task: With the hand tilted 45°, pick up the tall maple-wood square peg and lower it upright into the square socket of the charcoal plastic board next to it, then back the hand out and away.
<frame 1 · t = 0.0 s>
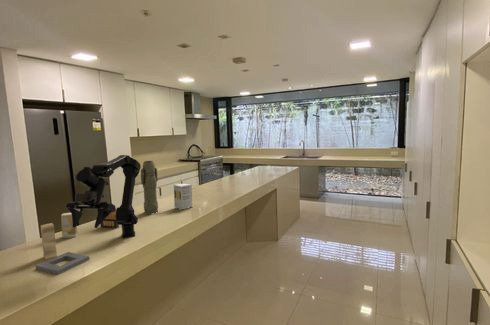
hand: (84, 227, 108), 15 cm above the counter, tool tilted 35°, fingers open, 9 cm apart
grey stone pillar: (151, 212, 184), on the counter
socket board: (63, 264, 109), on the counter
supplement box: (183, 208, 194), on the counter
ammunition clip: (109, 227, 154), on the counter
skincare box: (70, 236, 141), on the counter
maple peg: (50, 256, 117), on the counter
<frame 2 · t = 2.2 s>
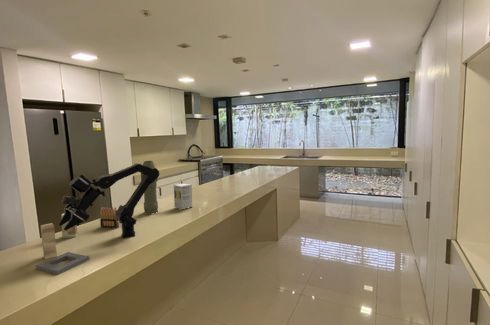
hand: (62, 227, 119), 12 cm above the counter, tool tilted 45°, fingers open, 9 cm apart
nothing on the counter moved.
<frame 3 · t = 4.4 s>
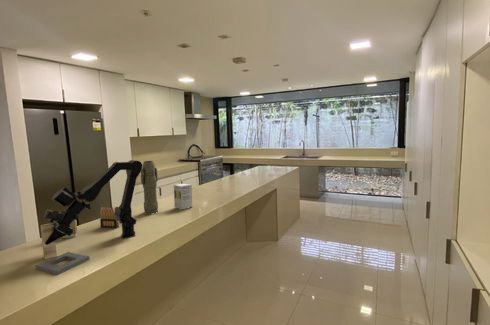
hand: (44, 242, 115), 7 cm above the counter, tool tilted 45°, fingers closed on maple peg, 4 cm apart
maple peg: (50, 256, 117), on the counter, touching gripper
everything else where it was.
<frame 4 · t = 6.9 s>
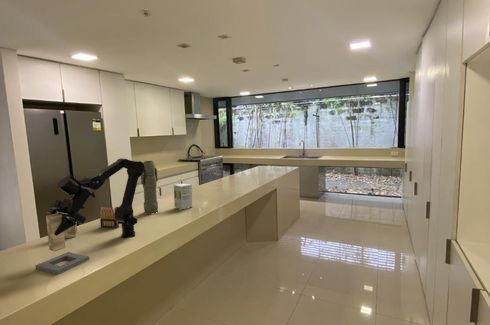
hand: (52, 234, 109), 12 cm above the counter, tool tilted 45°, fingers closed on maple peg, 4 cm apart
maple peg: (57, 248, 110), point 6 cm above the counter, touching gripper
everything else where it was.
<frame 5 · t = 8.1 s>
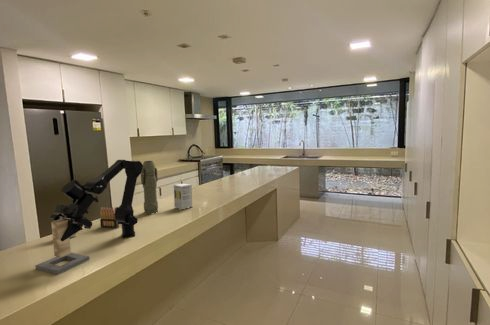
hand: (57, 240, 107), 11 cm above the counter, tool tilted 45°, fingers closed on maple peg, 4 cm apart
maple peg: (62, 254, 109), point 4 cm above the counter, touching gripper
everything else where it was.
when the fingers open (7 cm above the counter, at t = 9.3 s): maple peg stays where it is, resting in socket board.
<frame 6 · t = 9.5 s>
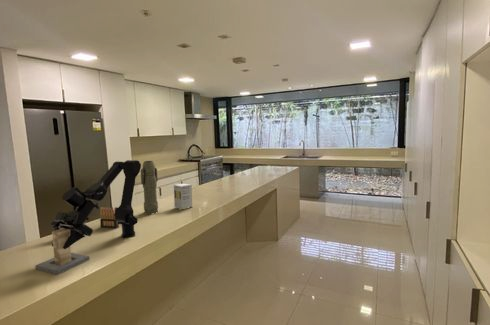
hand: (58, 247, 107), 8 cm above the counter, tool tilted 45°, fingers open, 6 cm apart
maple peg: (63, 264, 109), resting in socket board
everything else where it was.
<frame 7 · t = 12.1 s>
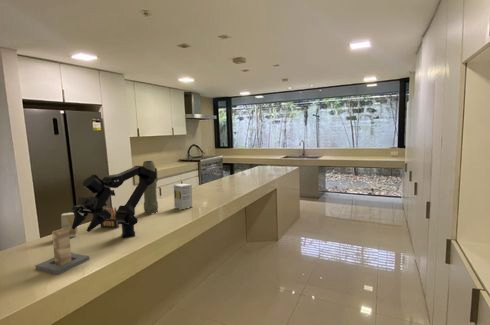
hand: (79, 230, 116), 12 cm above the counter, tool tilted 45°, fingers open, 9 cm apart
nothing on the counter moved.
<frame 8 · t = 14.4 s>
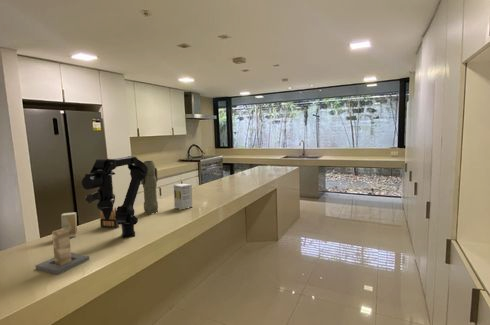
hand: (107, 218, 127), 13 cm above the counter, tool pointing down, fingers open, 9 cm apart
nothing on the counter moved.
at the end: maple peg 0.0 cm off-centre on the socket board, point 0.0 cm above the socket board's base; maple peg tilted 0°; the gripper is holding nothing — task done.
